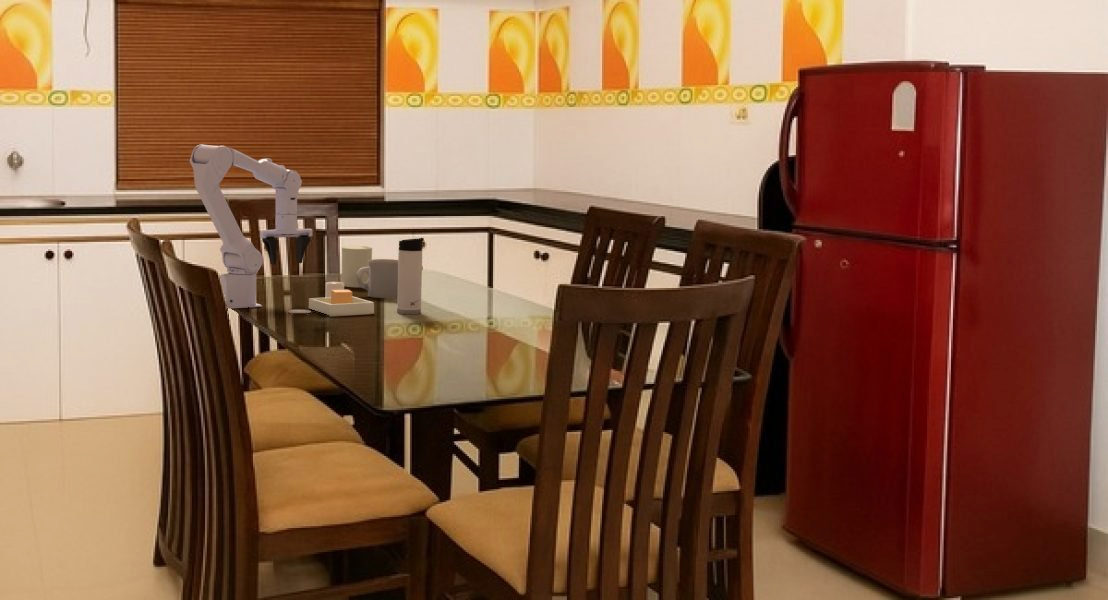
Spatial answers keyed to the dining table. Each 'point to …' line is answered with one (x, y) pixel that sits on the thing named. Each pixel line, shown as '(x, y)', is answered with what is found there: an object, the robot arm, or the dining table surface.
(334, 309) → the tray
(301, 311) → the grey flat disc
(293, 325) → the dining table surface
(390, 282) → the coffee mug
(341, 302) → the block
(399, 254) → the travel mug
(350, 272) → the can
